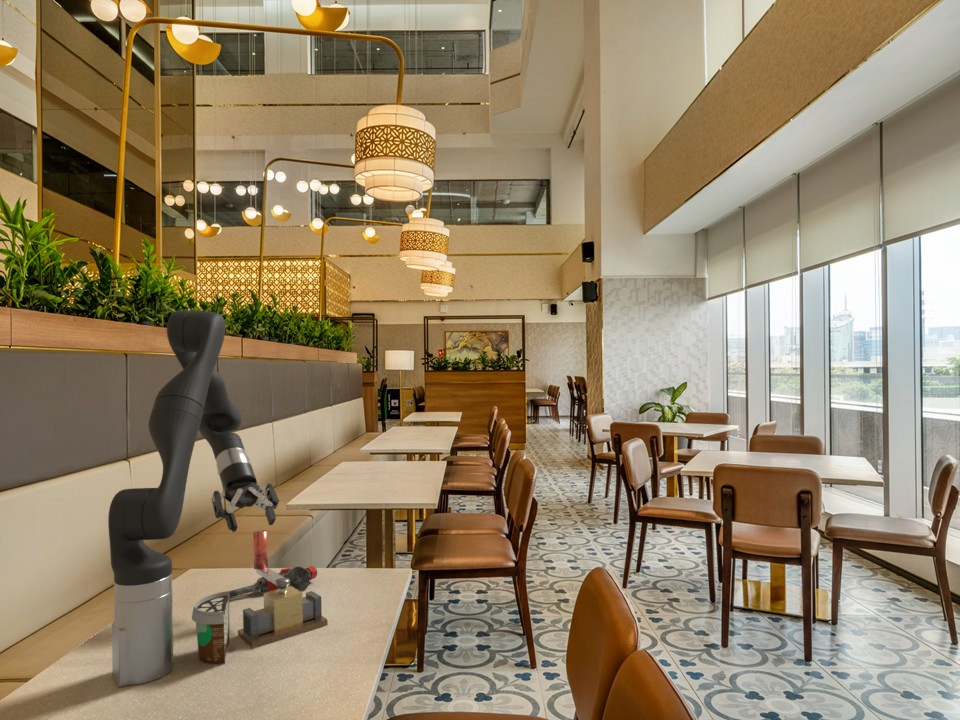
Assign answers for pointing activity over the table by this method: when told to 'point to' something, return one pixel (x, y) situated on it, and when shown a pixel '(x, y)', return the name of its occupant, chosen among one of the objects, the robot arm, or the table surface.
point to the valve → (296, 575)
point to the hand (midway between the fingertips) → (254, 526)
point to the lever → (265, 560)
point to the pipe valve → (282, 617)
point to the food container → (212, 627)
